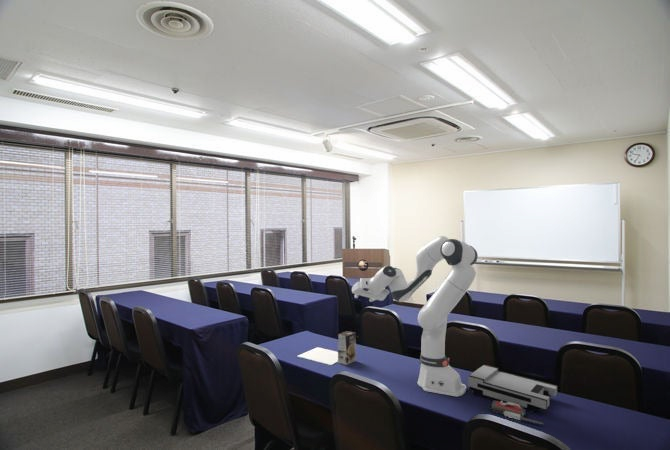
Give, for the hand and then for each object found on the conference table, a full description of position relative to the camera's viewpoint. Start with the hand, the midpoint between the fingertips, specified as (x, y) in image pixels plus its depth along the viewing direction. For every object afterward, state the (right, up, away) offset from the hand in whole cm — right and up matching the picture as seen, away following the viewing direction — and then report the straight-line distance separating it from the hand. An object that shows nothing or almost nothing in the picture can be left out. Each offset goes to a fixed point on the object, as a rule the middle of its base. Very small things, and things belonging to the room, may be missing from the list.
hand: (362, 298), depth 211 cm
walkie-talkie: (+57, -36, -62) cm, 91 cm away
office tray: (+64, -36, -45) cm, 86 cm away
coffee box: (-9, -35, -3) cm, 36 cm away
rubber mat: (-23, -35, +6) cm, 42 cm away
